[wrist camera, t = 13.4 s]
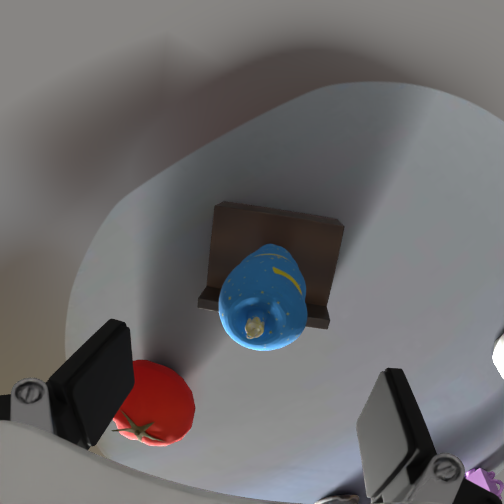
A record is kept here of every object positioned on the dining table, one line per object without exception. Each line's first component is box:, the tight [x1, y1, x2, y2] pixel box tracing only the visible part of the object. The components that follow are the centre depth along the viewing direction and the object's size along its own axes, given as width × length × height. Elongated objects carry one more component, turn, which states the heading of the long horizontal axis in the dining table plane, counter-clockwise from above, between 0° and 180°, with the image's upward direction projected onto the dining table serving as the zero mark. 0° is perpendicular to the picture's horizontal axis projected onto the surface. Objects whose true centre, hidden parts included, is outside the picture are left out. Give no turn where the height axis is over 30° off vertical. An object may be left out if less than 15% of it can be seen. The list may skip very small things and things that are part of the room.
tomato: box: [112, 360, 195, 446], centre depth 34 cm, size 12×12×11 cm
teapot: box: [465, 468, 504, 499], centre depth 36 cm, size 20×10×12 cm, turn 141°
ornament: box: [219, 244, 307, 350], centre depth 21 cm, size 5×5×15 cm
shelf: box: [198, 201, 344, 329], centre depth 29 cm, size 9×12×7 cm
